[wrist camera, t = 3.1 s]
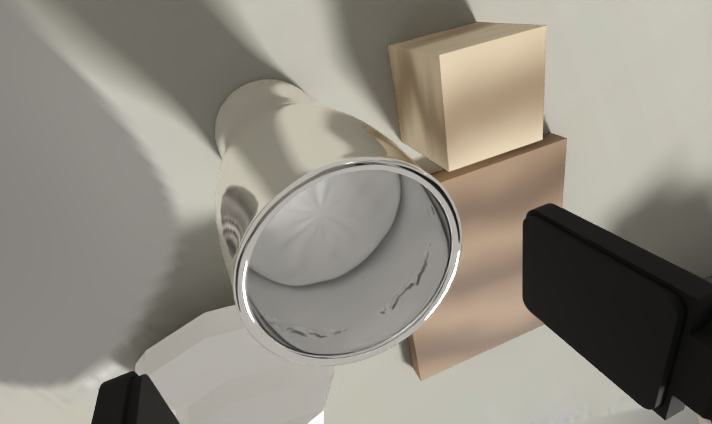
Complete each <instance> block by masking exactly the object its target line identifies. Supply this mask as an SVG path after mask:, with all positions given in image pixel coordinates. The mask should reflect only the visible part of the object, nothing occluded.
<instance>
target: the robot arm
mask: <svg viewBox="0 0 712 424" xmlns="http://www.w3.org/2000/svg"><path fill="white" fill-rule="evenodd" d="M522 298H523V302H524V304H525V306H526V308H527V309H528V310H529V311H530V312H531V313H532V314H533V315H535V316H536V317H537V318H538V319H539V320H540V321H542V322H543V323H544V324H545V325H546V326H548V327H549V328H550V329H551V330H552V331H553V332H555V333H556V334H557V335H558V336H559V337H560V338H562V339H563V340H564V341H565V342H566V343H568V344H569V345H570V346H571V347H572V348H573V349H575V350H576V351H577V352H578V353H579V354H580V355H582V356H583V357H584V358H585V359H586V360H588V361H589V362H590V363H591V364H592V365H593V366H595V367H596V368H597V369H598V370H599V371H600V372H602V373H603V374H604V375H605V376H606V377H608V378H609V379H610V380H611V381H612V382H613V383H615V384H616V385H617V386H618V387H619V388H620V389H622V390H623V391H624V392H625V393H626V394H628V395H629V396H630V397H631V398H632V399H633V400H635V401H636V402H637V403H638V404H639V405H641V406H642V407H644V408H646V409H650V410H651V409H652V410H654V411H655V412H656V413H657V414H658V415H659V416H661V417H662V418H663V419H664V420H667V419H668V418H670V417H672V416H673V415H675V414H677V413H679V412H680V411H682V410H684V407H685V405H686V406H688V407H689V408H690V409H692V410H693V411H694V412H695V413H696V415H697V418H698V420H699V423H700V424H712V283H710V282H708V281H706V280H704V279H702V278H700V277H698V276H696V275H694V274H692V273H690V272H688V271H686V270H684V269H682V268H680V267H678V266H676V265H674V264H672V263H670V262H668V261H666V260H664V259H662V258H660V257H658V256H656V255H654V254H652V253H650V252H648V251H646V250H644V249H642V248H640V247H638V246H636V245H634V244H632V243H630V242H628V241H626V240H624V239H622V238H621V237H619V236H617V235H615V234H613V233H611V232H609V231H607V230H605V229H603V228H601V227H599V226H597V225H595V224H593V223H591V222H589V221H587V220H585V219H583V218H581V217H579V216H577V215H575V214H573V213H571V212H569V211H567V210H565V209H563V208H561V207H559V206H557V205H555V204H552V203H547V204H545V205H542V206H540V207H537V208H535V209H532V210H530V211H529V212H528V213H527V215H526V219H524V221H523V249H522ZM91 424H180V423H179V422H178V420H177V419H176V417H175V415H174V414H173V412H172V411H171V409H170V408H169V406H168V405H167V403H166V402H165V400H164V399H163V397H162V396H161V394H160V392H159V391H158V389H157V388H156V386H155V385H154V383H153V382H152V380H151V379H150V377H149V376H148V375H147V374H142V375H140V376H139V375H138V374H137V373H136V372H134V371H131V372H128V373H126V374H123V375H121V376H118V377H116V378H113V379H111V380H108V381H106V382H104V383H102V384H101V386H100V389H99V392H98V397H97V401H96V406H95V410H94V414H93V419H92V423H91Z"/></svg>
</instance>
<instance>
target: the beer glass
mask: <svg viewBox="0 0 712 424" xmlns="http://www.w3.org/2000/svg"><path fill="white" fill-rule="evenodd" d="M215 140H216V145H217V148H218V151H219V153H220V155H221V157H222V161H221V164H220V168H219V172H218V177H217V182H216V189H215V211H216V225H217V231H218V236H219V241H220V247H221V251H222V255H223V258H224V262H225V265H226V269H227V272H228V275H229V278H230V282H231V285H232V288H233V294H234V300H235V305H236V308H237V311H238V314H239V316H240V319H241V321H242V322H243V324H244V326H245V328H246V329H247V331H248V332H249V333H250V334H251V336H252V337H253V338H254V339H255V340H256V341H257V342H258V343H259V344H260V345H261V346H263V347H264V348H265V349H267V350H268V351H270V352H271V353H273V354H275V355H277V356H279V357H281V358H284V359H286V360H289V361H292V362H295V363H299V364H304V365H312V366H336V365H344V364H349V363H354V362H358V361H361V360H364V359H367V358H370V357H373V356H375V355H378V354H380V353H382V352H384V351H386V350H388V349H390V348H392V347H393V346H395V345H397V344H398V343H400V342H401V341H403V340H404V339H406V338H407V337H409V336H410V335H411V334H412V333H414V332H415V331H416V330H417V329H418V328H419V327H421V326H422V325H423V324H424V323H425V322H426V321H427V320H428V318H429V317H430V316H431V315H432V314H433V313H434V312H435V310H436V309H437V308H438V306H439V305H440V304H441V302H442V301H443V299H444V298H445V296H446V294H447V293H448V291H449V289H450V287H451V285H452V283H453V281H454V278H455V276H456V273H457V270H458V266H459V263H460V258H461V252H462V228H461V222H460V218H459V214H458V211H457V209H456V206H455V204H454V202H453V200H452V198H451V197H450V195H449V193H448V192H447V191H446V189H445V188H444V187H443V186H442V185H441V184H440V183H439V182H438V181H437V180H436V179H435V178H434V177H433V176H431V175H430V174H429V173H427V172H426V171H424V170H423V169H422V168H421V167H420V166H419V165H418V164H417V163H416V162H415V161H413V160H412V159H411V158H410V157H409V156H408V155H407V154H406V153H405V152H404V151H403V150H402V149H400V148H399V147H398V146H397V145H396V144H395V143H394V142H392V141H391V140H390V139H388V138H387V137H386V136H384V135H383V134H382V133H380V132H379V131H378V130H376V129H375V128H374V127H372V126H371V125H369V124H367V123H365V122H364V121H362V120H360V119H358V118H356V117H355V116H353V115H351V114H349V113H346V112H344V111H341V110H338V109H335V108H331V107H328V106H324V105H320V104H314V103H313V101H312V100H311V99H310V98H309V97H308V96H307V95H306V94H305V93H304V92H303V91H302V90H301V89H299V88H298V87H296V86H294V85H292V84H290V83H288V82H285V81H281V80H275V79H263V80H257V81H253V82H250V83H247V84H245V85H243V86H241V87H239V88H238V89H236V90H235V91H234V92H233V93H231V94H230V95H229V96H228V98H227V99H226V100H225V101H224V103H223V104H222V106H221V108H220V110H219V112H218V115H217V118H216V123H215Z"/></svg>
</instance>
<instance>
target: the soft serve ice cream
mask: <svg viewBox="0 0 712 424" xmlns="http://www.w3.org/2000/svg"><path fill="white" fill-rule="evenodd" d="M135 372H136V373H137V374H138V375H139V376H140V375H142V374H147V375H148V376H149V377H150V379H151V380H152V382H153V383H154V385H155V386H156V388H157V389H158V391H159V392H160V394H161V396H162V397H163V399H164V400H165V402H166V403H167V405H168V406H169V408H170V409H171V411H172V412H174V413H176V418H177V420H178V422H179V423H180V424H323V418H324V407H325V404H326V400H327V396H328V393H329V389H330V386H331V382H332V379H333V375H334V367H333V366H312V365H304V364H299V363H295V362H292V361H289V360H286V359H284V358H281V357H279V356H277V355H275V354H273V353H271V352H270V351H268V350H267V349H265V348H264V347H263V346H261V345H260V344H259V343H258V342H257V341H256V340H255V339H254V338H253V337H252V336H251V334H250V333H249V332H248V331H247V329H246V328H245V326H244V324H243V322H242V321H241V319H240V316H239V314H238V311H237V308H236V305H232V306H228V307H224V308H220V309H216V310H212V311H208V312H205V313H203V314H202V315H200V316H198V317H197V318H195V319H194V320H192V321H191V322H189V323H188V324H186V325H184V326H183V327H181V328H180V329H178V330H177V331H175V332H174V333H172V334H170V335H169V336H167V337H166V338H164V339H163V340H161V341H160V342H158V343H157V344H155V345H153V346H152V347H150V348H149V349H147V350H146V351H145V353H144V354H143V355H142V356H141V358H140V359H139V360H138V361H137V363H136V366H135Z"/></svg>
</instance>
